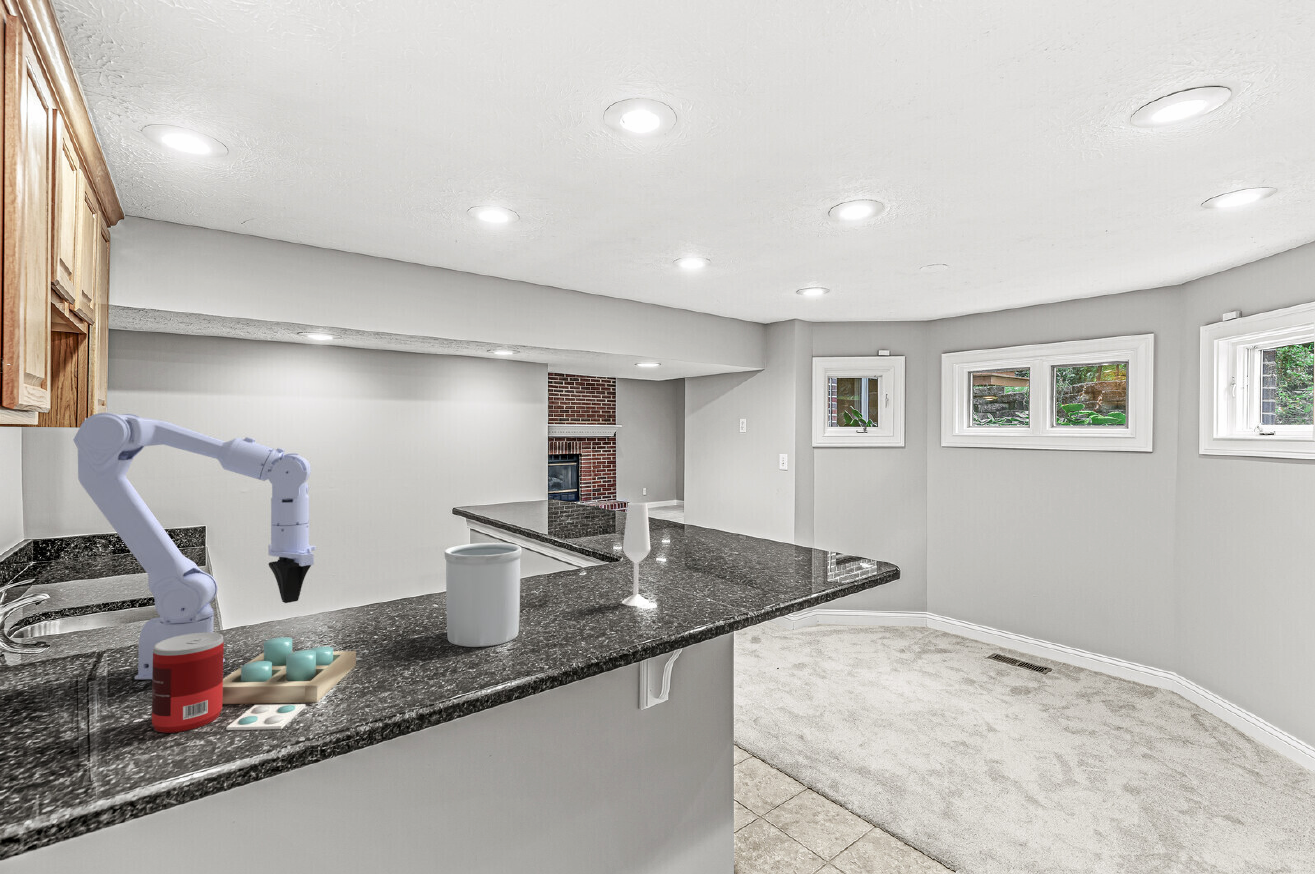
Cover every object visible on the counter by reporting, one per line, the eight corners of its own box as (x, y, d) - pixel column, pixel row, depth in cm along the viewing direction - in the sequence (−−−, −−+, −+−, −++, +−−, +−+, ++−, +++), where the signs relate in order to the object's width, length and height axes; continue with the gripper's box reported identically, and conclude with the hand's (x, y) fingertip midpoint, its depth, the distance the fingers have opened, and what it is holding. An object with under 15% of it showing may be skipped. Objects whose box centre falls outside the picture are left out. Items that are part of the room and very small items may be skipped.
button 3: (280, 682, 96) (281, 659, 96) (293, 672, 100) (293, 650, 100) (308, 681, 96) (308, 658, 96) (320, 671, 100) (320, 649, 100)
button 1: (235, 693, 95) (235, 670, 95) (249, 683, 99) (250, 660, 99) (263, 693, 95) (263, 670, 95) (276, 682, 99) (277, 660, 99)
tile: (226, 730, 85) (226, 725, 85) (254, 707, 92) (254, 703, 92) (281, 728, 85) (281, 724, 85) (305, 706, 92) (305, 702, 92)
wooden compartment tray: (209, 704, 93) (210, 687, 93) (264, 666, 107) (264, 651, 107) (317, 702, 94) (317, 685, 94) (355, 665, 109) (356, 650, 109)
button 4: (300, 676, 102) (301, 654, 102) (312, 667, 106) (312, 646, 106) (326, 676, 102) (327, 654, 102) (336, 667, 106) (337, 646, 106)
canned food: (234, 708, 91) (236, 632, 91) (196, 734, 83) (197, 650, 83) (180, 707, 91) (181, 631, 91) (136, 733, 83) (138, 650, 83)
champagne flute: (633, 607, 149) (636, 505, 149) (616, 601, 154) (618, 503, 154) (655, 602, 154) (657, 504, 154) (637, 597, 159) (638, 501, 158)
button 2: (258, 666, 101) (258, 645, 101) (271, 658, 105) (271, 637, 105) (284, 666, 102) (285, 644, 102) (296, 657, 106) (296, 637, 106)
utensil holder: (426, 643, 121) (428, 551, 121) (471, 621, 135) (473, 540, 135) (494, 652, 117) (496, 557, 117) (533, 629, 131) (535, 544, 131)
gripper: (332, 525, 109) (332, 603, 109) (298, 517, 118) (298, 590, 118) (287, 529, 103) (287, 612, 103) (255, 521, 112) (255, 597, 113)
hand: (290, 601), depth 110 cm, fingers closed
